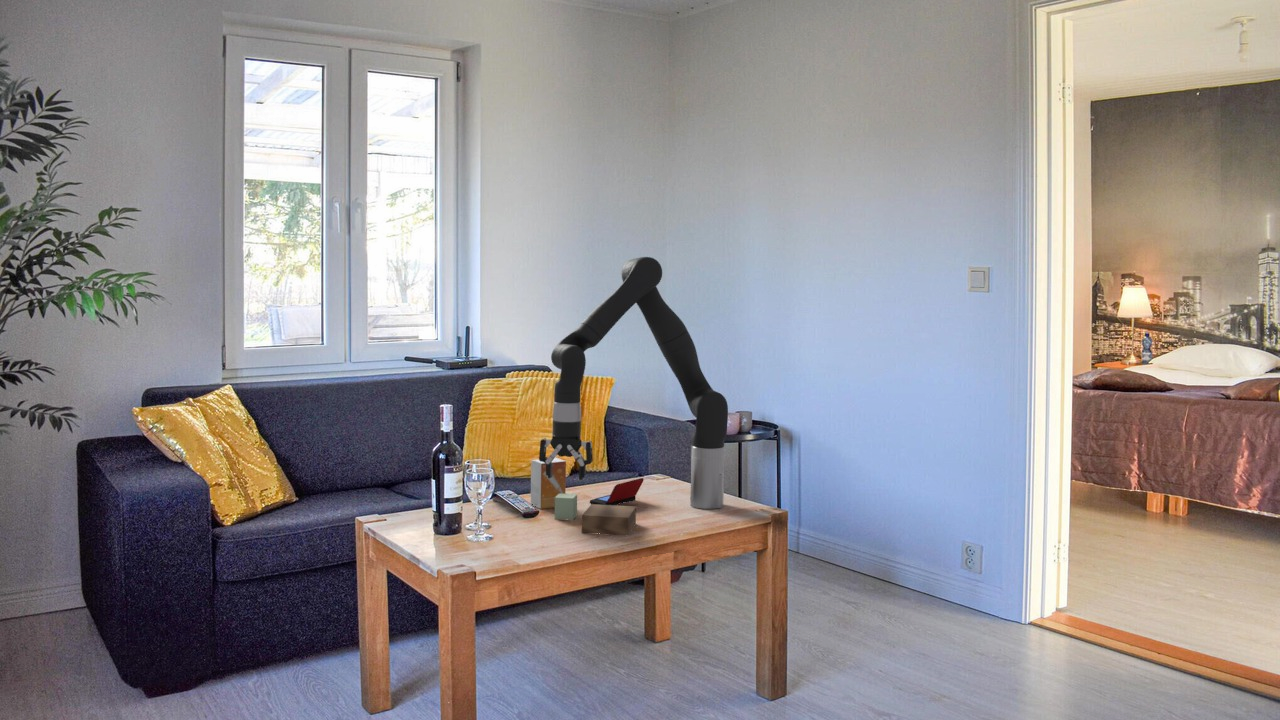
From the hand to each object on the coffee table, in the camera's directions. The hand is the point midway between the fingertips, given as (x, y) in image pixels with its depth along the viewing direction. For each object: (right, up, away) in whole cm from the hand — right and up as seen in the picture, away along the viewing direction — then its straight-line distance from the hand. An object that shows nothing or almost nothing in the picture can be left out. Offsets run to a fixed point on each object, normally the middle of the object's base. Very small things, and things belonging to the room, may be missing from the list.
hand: (565, 478), depth 268 cm
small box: (-6, -10, +14) cm, 18 cm away
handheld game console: (+13, -10, +19) cm, 25 cm away
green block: (0, -11, +1) cm, 11 cm away
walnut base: (+12, -12, -9) cm, 20 cm away
